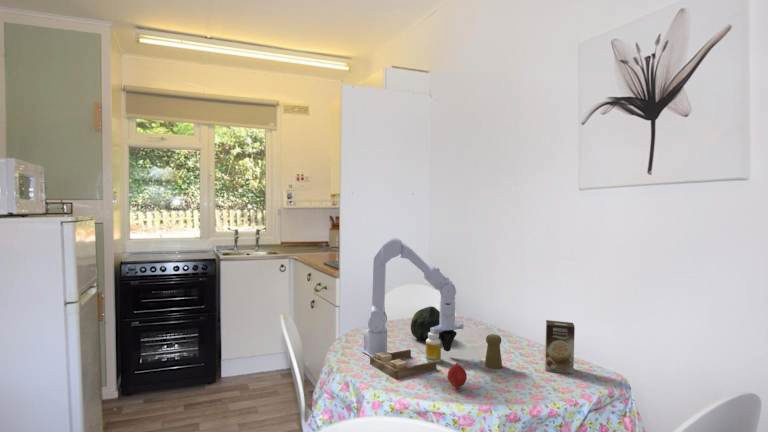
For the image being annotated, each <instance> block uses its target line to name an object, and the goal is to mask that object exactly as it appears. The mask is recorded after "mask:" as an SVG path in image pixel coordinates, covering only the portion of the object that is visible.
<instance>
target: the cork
mask: <svg viewBox="0 0 768 432" xmlns="http://www.w3.org/2000/svg"><path fill="white" fill-rule="evenodd" d="M485 342H486V344H487V347H486V354H485V360H484V367H485V368H487V369H490V370H501V369H503V361H502V353H501V352H502V351H501V345H502V344H501V343H502V337H501V336H500V335H499V334H494V333H493V334H492V333H491V334H487V335H486V338H485Z"/></svg>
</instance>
